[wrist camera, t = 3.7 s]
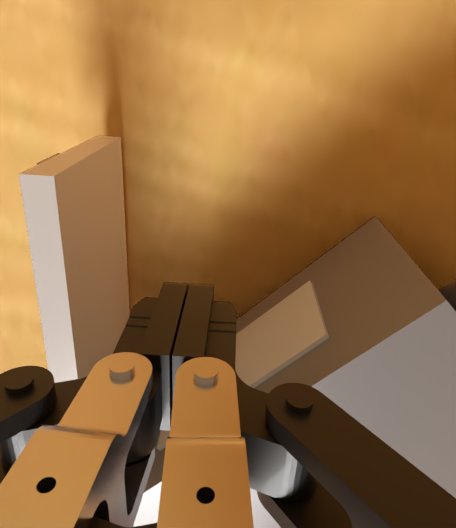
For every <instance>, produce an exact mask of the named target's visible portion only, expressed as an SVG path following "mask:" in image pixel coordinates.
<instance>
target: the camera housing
mask: <svg viewBox="0 0 456 528" xmlns="http://www.w3.org/2000/svg"><path fill="white" fill-rule="evenodd" d="M235 369H236V372H237V375H238V376H239V378H240V379H241V380H242V381H243V382H244V383H245V384H247V385H248V386H250V387H252V388H254V389H257V390H260V391H263V392H266V393H270V391H271V390H272V389H273V388H275V387H277V386H279V385H281V384H285V383H301V384H305V385H308V386H311V387H313V388H315V389H317V390H318V391H320V392H321V393H323V394H324V395H325V396H326V397H328V398H329V399H330V400H332V401H333V402H334V403H335V404H337V405H338V406H339V407H340V408H342V409H343V410H344V411H345V412H347V413H348V414H349V415H351V416H352V417H353V418H354V419H356V420H357V421H358V422H359V423H361V424H362V425H363V426H365V427H366V428H367V429H368V430H370V431H371V432H372V433H373V434H375V435H376V436H377V437H378V438H380V439H381V440H382V441H384V442H385V443H386V444H387V445H389V446H390V447H391V448H392V449H394V450H395V451H396V452H398V453H399V454H400V455H401V456H403V457H404V458H405V459H406V460H408V461H409V462H410V463H411V464H413V465H414V466H415V467H417V468H418V469H419V470H420V471H422V472H423V473H424V474H425V475H427V476H428V477H429V478H431V479H432V480H433V481H434V482H436V483H437V484H438V485H439V486H441V487H442V488H443V489H445V490H446V491H447V492H448V493H450V494H451V495H452V496H453V497H455V498H456V279H454V280H453V281H451V282H450V283H448V284H447V285H445V286H444V287H442V288H441V289H439V290H438V289H437V288H436V287H435V286H434V285H433V283H432V282H431V281H430V280H429V279H428V277H427V276H426V275H425V274H424V273H423V272H422V270H421V269H420V268H419V267H418V266H417V264H416V263H415V262H414V261H413V260H412V259H411V257H410V256H409V255H408V254H407V253H406V251H405V250H404V249H403V248H402V247H401V246H400V244H399V243H398V242H397V241H396V240H395V238H394V237H393V236H392V235H391V234H390V233H389V231H388V230H387V229H386V228H385V227H384V225H383V224H382V223H381V222H380V221H379V220H378V218H377V217H376V216H375V217H374V218H372V219H371V220H370V221H368V222H367V223H366V224H364V225H363V226H362V227H360V228H359V229H358V230H356V231H355V232H353V233H352V234H351V235H349V236H348V237H347V238H345V239H344V240H343V241H341V242H340V243H339V244H337V245H336V246H335V247H333V248H332V249H331V250H329V251H328V252H327V253H325V254H324V255H323V256H321V257H320V258H319V259H317V260H316V261H314V262H313V263H312V264H310V265H309V266H308V267H306V268H305V269H304V270H302V271H301V272H300V273H298V274H297V275H296V276H294V277H293V278H292V279H290V280H289V281H288V282H286V283H285V284H284V285H282V286H281V287H280V288H278V289H277V290H275V291H274V292H273V293H271V294H270V295H269V296H267V297H266V298H265V299H263V300H262V301H261V302H259V303H258V304H257V305H255V306H254V307H253V308H251V309H250V310H249V311H247V312H246V313H245V314H243V315H242V316H241V317H239V318H238V319H237V323H236V358H235ZM169 436H170V431H166V430H159V435H158V439H157V443H156V446H155V458H154V462H153V465H152V468H151V471H150V474H149V478H148V481H147V484H146V487H145V490H144V493H143V496H142V500H141V503H140V506H139V509H138V512H137V515H136V519H135V522H134V525H133V527H136V526H142V525H147V524H152V523H157V521H158V512H159V503H160V494H161V484H162V475H163V466H164V457H165V448H166V441H167V437H169ZM250 494H251V505H252V515H253V525H254V528H281V527H280V526H279V525H278V523H277V522H276V521H275V520H274V519H273V517H272V516H271V515H270V514H269V513H268V511H267V510H266V509H265V508H264V507H263V505H262V504H261V502H260V500H259V498H258V495H257V491H256V490H253V489H251V488H250Z"/></svg>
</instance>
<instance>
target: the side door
mask: <svg viewBox="0 0 456 528" xmlns="http://www.w3.org/2000/svg"><path fill="white" fill-rule="evenodd" d="M19 179H20V186H21V193H22V199H23V206H24V212H25V219H26V226H27V232H28V239H29V245H30V252H31V258H32V265H33V272H34V278H35V285H36V291H37V298H38V305H39V311H40V318H41V324H42V331H43V337H44V344H45V351H46V357H47V364H48V370H49V371H50V372H51V373H52V375H53V377H54V382H55V383H57V382H63V381H69V380H75V379H80V378H84V377H87V376H88V375H89V373H90V372H91V370H92V368H93V367H94V365H95V364H96V363H97V362H98V361H100V360H101V359H102V358H104V357H106V356H109V355H111V354H113V352H114V350H115V348H116V345H117V343H118V341H119V339H120V336H121V334H122V332H123V330H124V327H126V323H127V321H128V318H129V316H130V309H129V289H128V269H127V249H126V229H125V210H124V190H123V170H122V150H121V137H115V136H96V137H94V138H92V139H90V140H88V141H85V142H83V143H81V144H79V145H77V146H75V147H73V148H71V149H69V150H67V151H65V152H63V153H58V154H55V155H53V156H51V157H49V158H47V159H45V160H43V161H41V162H39V163H37V165H36V166H34V167H32V168H30V169H28V170H26V171H24V172H22V173H20V174H19Z"/></svg>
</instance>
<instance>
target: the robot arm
mask: <svg viewBox="0 0 456 528" xmlns="http://www.w3.org/2000/svg"><path fill="white" fill-rule="evenodd" d="M236 323H237V311H236V310H235V308H234V307H233V306H232V304H231V303H230V302H219V301H214V285H205V284H190V285H188V284H187V283H170V282H164V283H163V286H162V288H161V291H160V294H159V297H158V298H150V297H145V298H143V299H142V300H141V301H140V302H138V303H137V304H136V305H134V307H133V309H132V312H131V314H130V316H129V318H128V321H127V323H126V327H124V330H123V332H122V334H121V336H120V339H119V341H118V343H117V345H116V348H115V350H114V352H113V354H111V355H109V356H106V357H104V358H102V359H101V360H100V361H98V362H97V363H96V364H95V365H94V367H93V368H92V370H91V372H90V373H89V375H88V376H87V377H84V378H80V379H75V380H69V381H63V382H57V383H55V382H54V377H53V375H52V373H51V372H50V371H49V370H47V369H45V368H43V367H38V366H23V367H18V368H14V369H11V370H8V371H6V372H4V373H2V374H0V528H254V525H253V515H252V505H251V494H250V488H251V489H253V490H256V491H257V495H258V498H259V500H260V502H261V504H262V505H263V507H264V508H265V509H266V510H267V511H268V513H269V514H270V515H271V516H272V517H273V519H274V520H275V521H276V522H277V523H278V525H279V526H280V527H281V528H456V498H455V497H453V496H452V495H451V494H450V493H448V492H447V491H446V490H445V489H443V488H442V487H441V486H439V485H438V484H437V483H436V482H434V481H433V480H432V479H431V478H429V477H428V476H427V475H425V474H424V473H423V472H422V471H420V470H419V469H418V468H417V467H415V466H414V465H413V464H411V463H410V462H409V461H408V460H406V459H405V458H404V457H403V456H401V455H400V454H399V453H398V452H396V451H395V450H394V449H392V448H391V447H390V446H389V445H387V444H386V443H385V442H384V441H382V440H381V439H380V438H378V437H377V436H376V435H375V434H373V433H372V432H371V431H370V430H368V429H367V428H366V427H365V426H363V425H362V424H361V423H359V422H358V421H357V420H356V419H354V418H353V417H352V416H351V415H349V414H348V413H347V412H345V411H344V410H343V409H342V408H340V407H339V406H338V405H337V404H335V403H334V402H333V401H332V400H330V399H329V398H328V397H326V396H325V395H324V394H323V393H321V392H320V391H318V390H317V389H315V388H313V387H311V386H308V385H305V384H301V383H285V384H281V385H279V386H277V387H275V388H273V389H272V390H271V391H270V393H266V392H263V391H260V390H257V389H254V388H252V387H250V386H248V385H247V384H245V383H244V382H243V381H242V380H241V379H240V378H239V376H238V375H237V372H236V369H235V358H236ZM159 430H166V431H170V436H169V437H167V441H166V448H165V457H164V466H163V475H162V484H161V494H160V503H159V512H158V521H157V523H152V524H147V525H142V526H136V527H133V525H134V522H135V519H136V515H137V512H138V509H139V506H140V503H141V500H142V496H143V493H144V490H145V487H146V484H147V481H148V478H149V474H150V471H151V468H152V465H153V462H154V458H155V446H156V443H157V439H158V435H159Z"/></svg>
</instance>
